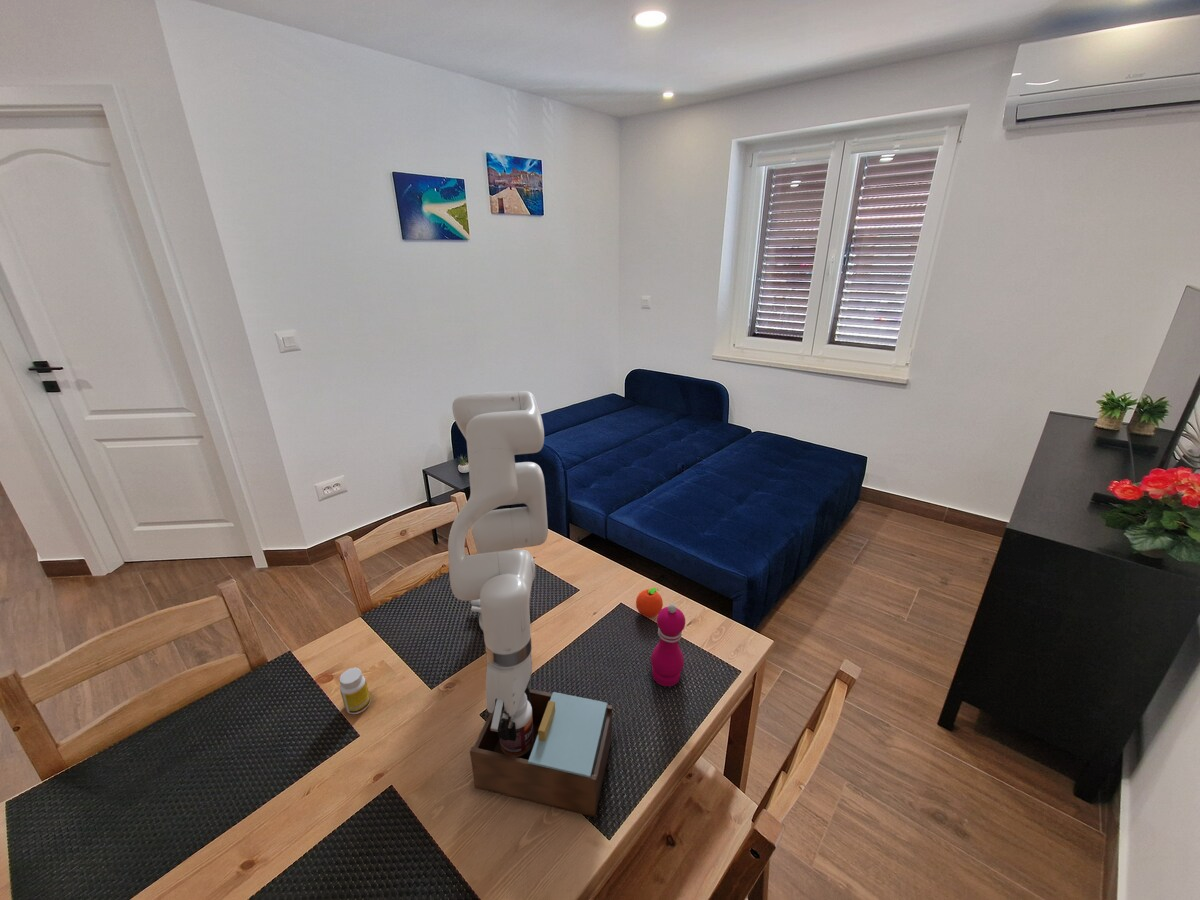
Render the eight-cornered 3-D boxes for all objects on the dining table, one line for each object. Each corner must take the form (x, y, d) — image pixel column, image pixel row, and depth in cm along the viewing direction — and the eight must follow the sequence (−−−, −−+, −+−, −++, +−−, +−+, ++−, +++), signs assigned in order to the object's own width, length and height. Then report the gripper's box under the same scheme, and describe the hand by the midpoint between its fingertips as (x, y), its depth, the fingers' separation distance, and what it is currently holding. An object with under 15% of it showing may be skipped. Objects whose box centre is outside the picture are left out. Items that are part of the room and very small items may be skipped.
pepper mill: (681, 691, 105) (689, 620, 97) (648, 685, 106) (653, 614, 98) (682, 665, 111) (690, 596, 103) (651, 659, 113) (656, 591, 105)
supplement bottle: (375, 700, 102) (368, 671, 99) (357, 718, 98) (348, 688, 95) (359, 691, 104) (351, 662, 100) (340, 709, 100) (331, 680, 96)
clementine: (646, 598, 132) (647, 577, 129) (668, 609, 128) (670, 587, 125) (630, 615, 126) (631, 593, 123) (653, 627, 122) (655, 605, 119)
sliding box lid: (528, 763, 80) (527, 751, 79) (553, 693, 92) (552, 682, 91) (590, 778, 78) (590, 765, 77) (607, 704, 90) (607, 692, 89)
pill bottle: (532, 758, 87) (529, 715, 82) (497, 759, 87) (493, 716, 82) (535, 726, 92) (532, 684, 88) (502, 727, 92) (498, 685, 88)
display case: (474, 787, 86) (469, 750, 82) (505, 718, 99) (502, 683, 95) (595, 817, 82) (595, 780, 78) (611, 741, 94) (612, 705, 90)
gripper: (507, 606, 89) (513, 677, 96) (463, 683, 73) (474, 762, 80) (546, 612, 87) (549, 684, 94) (510, 693, 72) (516, 772, 79)
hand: (514, 719), depth 87 cm, fingers closed on pill bottle, 6 cm apart
